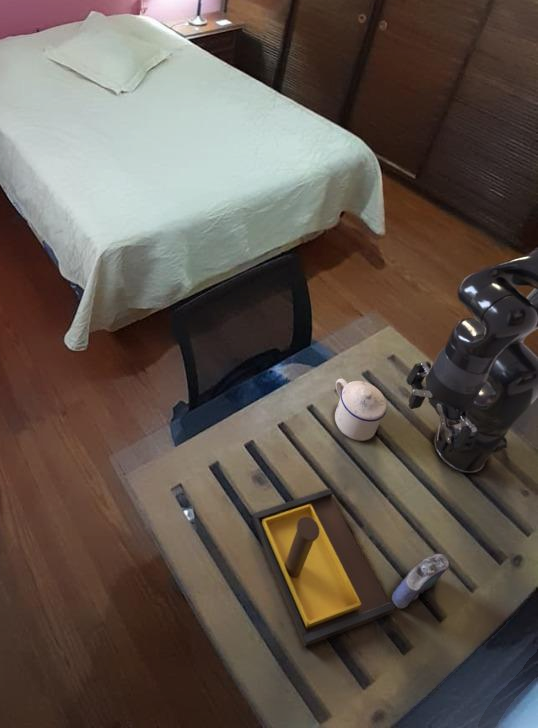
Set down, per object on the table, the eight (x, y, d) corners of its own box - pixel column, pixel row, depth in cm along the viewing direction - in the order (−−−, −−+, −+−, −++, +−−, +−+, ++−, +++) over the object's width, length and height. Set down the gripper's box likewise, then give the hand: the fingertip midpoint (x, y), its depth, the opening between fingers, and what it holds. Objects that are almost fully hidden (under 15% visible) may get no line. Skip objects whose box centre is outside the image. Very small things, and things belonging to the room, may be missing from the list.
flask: (399, 612, 92) (417, 590, 85) (385, 594, 94) (402, 571, 88) (437, 583, 95) (457, 559, 89) (423, 566, 97) (442, 541, 91)
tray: (308, 508, 104) (325, 463, 93) (358, 609, 91) (384, 570, 81) (261, 524, 102) (272, 480, 91) (305, 629, 90) (324, 592, 79)
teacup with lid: (386, 433, 117) (400, 403, 110) (352, 449, 114) (364, 419, 107) (349, 387, 126) (360, 356, 119) (316, 401, 123) (325, 370, 116)
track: (328, 493, 107) (330, 488, 106) (392, 613, 92) (395, 608, 90) (251, 519, 104) (252, 513, 103) (304, 646, 89) (306, 642, 87)
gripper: (510, 406, 85) (473, 460, 94) (449, 335, 96) (421, 390, 106) (469, 415, 83) (435, 469, 93) (411, 342, 95) (387, 397, 104)
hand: (428, 427), depth 99 cm, fingers open, 8 cm apart
